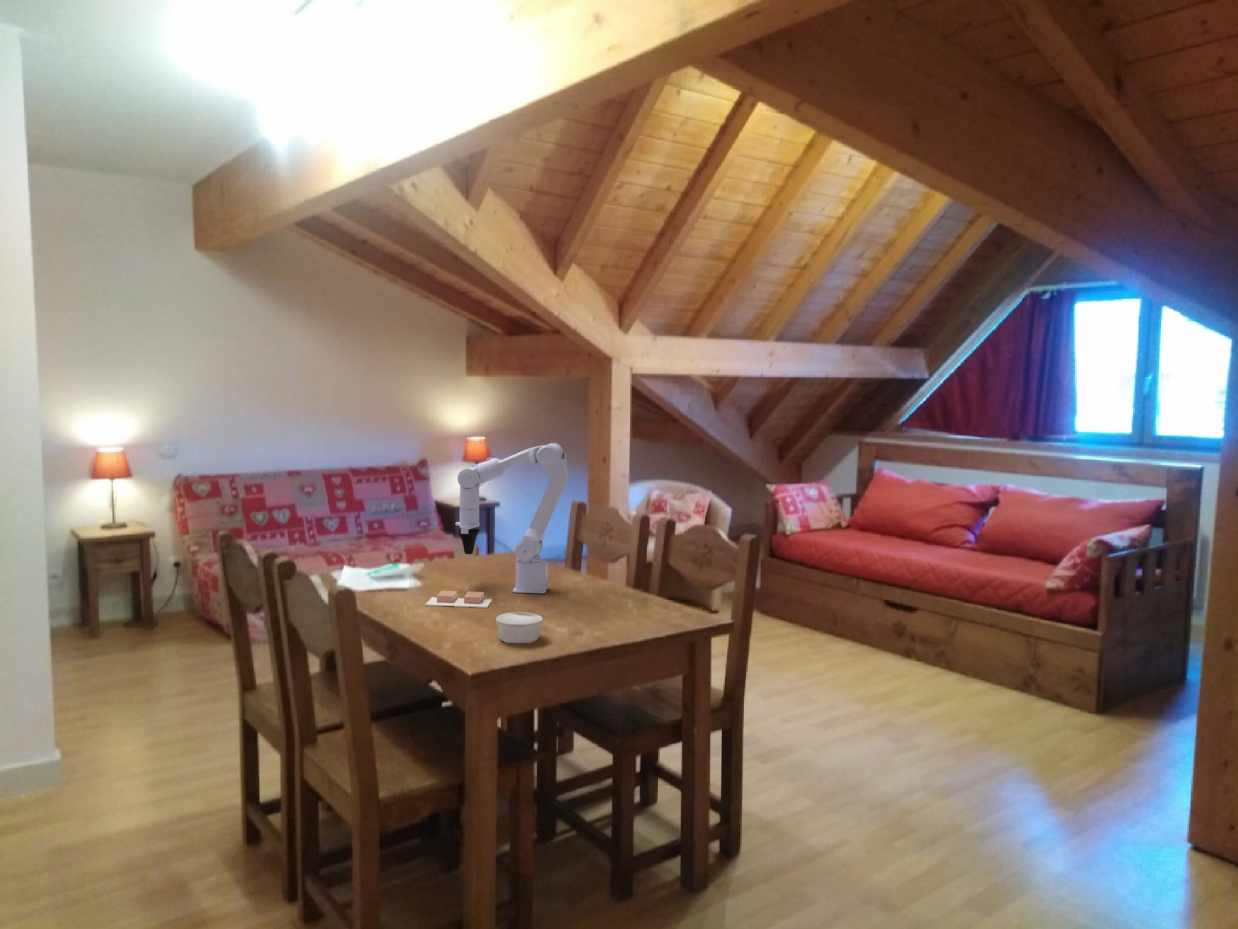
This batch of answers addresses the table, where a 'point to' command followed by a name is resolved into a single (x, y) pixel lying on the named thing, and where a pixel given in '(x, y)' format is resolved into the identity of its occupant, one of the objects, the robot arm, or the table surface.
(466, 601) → the tile
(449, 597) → the tile
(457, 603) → the felt mat
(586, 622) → the table surface
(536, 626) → the ramekin
